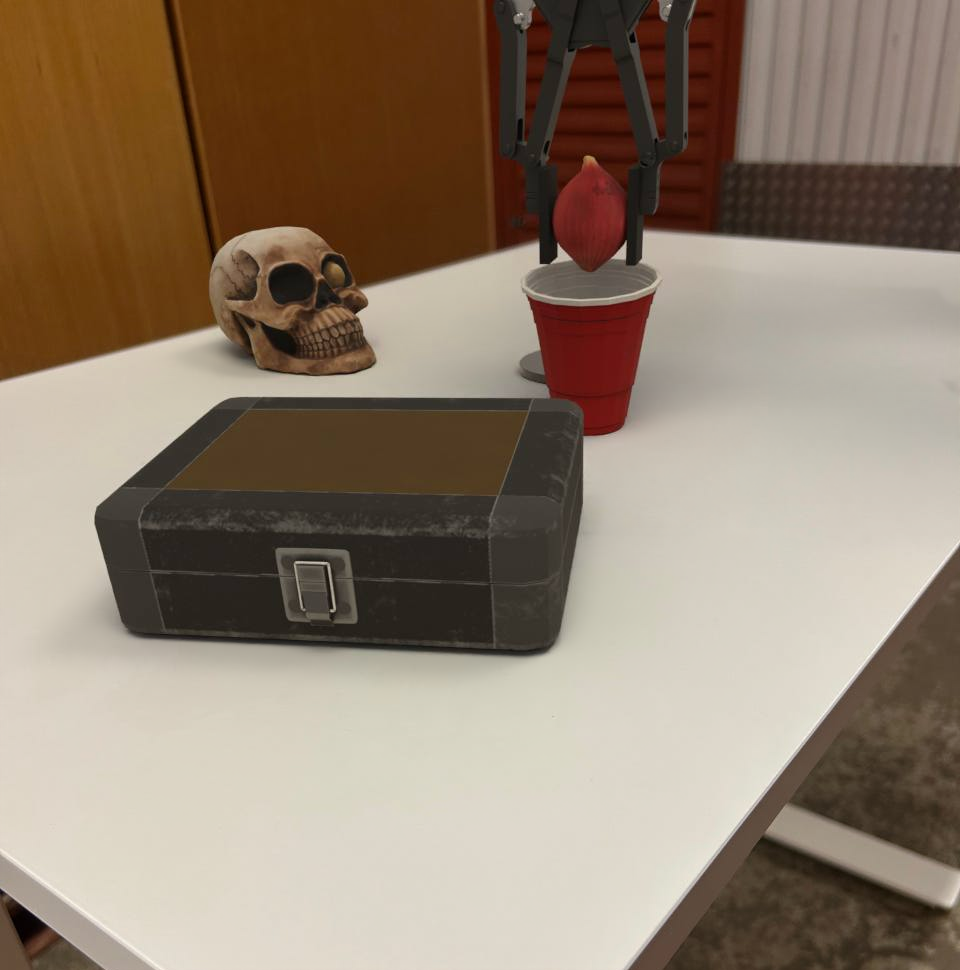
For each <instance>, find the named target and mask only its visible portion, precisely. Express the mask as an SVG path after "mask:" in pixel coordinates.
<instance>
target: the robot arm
mask: <svg viewBox="0 0 960 970" xmlns="http://www.w3.org/2000/svg"><path fill="white" fill-rule="evenodd" d="M653 1H654V0H494V2H493V6H492V10H493V14H494V18H495V22H496V25H497V29H498V32H499V36H500V73H499V74H500V76H499V82H500V83H499V88H500V89H499V131H498V132H499V134H498V135H499V136H498V152H499V155H500V156H501V157H502V158H503V159H509V160H512V161H515V162H517V163H519V164H520V165H522V167H523V170H524V175H525V176H524V177H525V178H524V182H525V208H526V212H527V214H528V216H538V245H539V246H538V249H539V250H538V251H539V253H538V254H539V259H538V260H539V265H548V264H552V263H554V261H555V260H556V259H557V258H559V254H558V253H559V249H558V248H559V247H558V246H559V244H558V242H557V240H556V238H555V236H554V234H553V227H552V215H553V209H554V206H555V203H556V200H557V198H558V196H559V194H558V193H559V192H558V164H547V162H548V161H549V160H550V156H549V152H550V149H551V144H552V142H553V141H552V140H553V137H554V133H555V130H556V126H557V122H558V118H559V114H560V110H561V106H562V103H563V98H564V94H565V90H566V87H567V83H568V79H569V75H570V72H571V67H572V64H574V63H573V62H574V60H575V58H576V55H577V52H578V51H577V50H580V49H586V48H588V47H591V46H594V47H597V48H598V47H599V48H601V49H602V48H610V51H611V54H612V59H613V61H614V63H615V65H616V69H617V73H618V77H619V82H620V86H621V90H622V95H623V98H624V102H625V106H626V110H627V114H628V115H627V116H628V119H629V123H630V127H631V131H632V135H633V140H634V144H635V148H636V151H637V156H638V160H637V163H634V164H632V166H630V167H629V168H628V175H627V197H628V205H627V239H626V242H625V259H626V266H636V265H637V264H638V263H639V262H641V261H642V259H643V244H644V243H643V242H644V220H645V219H644V216H653V215H655V213H656V211H657V210H658V206H659V202H660V181H661V179H660V178H661V167H662V164H663V162H664V161H666V160H669V159H671V158H673V157H677V156H679V155H680V154H682V153H683V152H684V151H685V150H686V149H687V147H688V144H689V28H690V25H691V21H692V19H693V17H694V16H693V15H694V13H695V8H696V6H697V4H698V3H697V2H698V0H656V1H657V3H658V5H659V10H658V11H659V13H658V14H659V18H660V19H661V20H662V21H663V22H665V23H666V24H665V25H666V26H665V34H664V35H665V36H664V49H665V50H664V79H665V81H664V83H665V84H664V87H665V89H664V90H665V94H664V95H665V96H664V97H665V100H664V104H665V105H664V107H665V109H664V110H665V139H662V140H660V139H659V138H660V137H659V133H658V130H657V124H656V120H655V117H654V112H653V108H652V103H651V99H650V95H649V90H648V87H647V82H646V77H645V73H644V69H643V66H642V61H641V55H640V54H641V53H640V46H639V42H638V37H637V33H636V27H637V26H638V25H639V23H640V21H642V18H643V17H644V15H645V14H646V12H647V10H648V9H649V7H650V5H651V4H652V2H653ZM535 7H536V8H537V10H538V11H539V13H540V15H541V16H542V18H543V19H544V21H545V23H546V25H547V26H548V27H549V29H550V30H551V32H552V33H551V36H550V40H549V45H548V48H547V52H546V64H545V67H544V71H543V76H542V79H541V83H540V88H539V92H538V95H537V100H536V104H535V109H534V112H533V116H532V120H531V124H530V129H529V133H528V137H527V141H525V126H526V125H525V123H526V89H527V88H526V87H527V61H528V60H527V59H528V58H527V57H528V56H527V55H528V37H527V29H528V28H529V27H530V26H531V24H532V19H533V17H532V16H533V15H532V14H533V10H534V8H535Z"/></svg>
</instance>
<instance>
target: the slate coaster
mask: <svg viewBox="0 0 960 970" xmlns="http://www.w3.org/2000/svg"><path fill="white" fill-rule="evenodd" d="M518 371H519V374H520V375H521V376H522V377H524V378H526V379H527V380H529V381H533V382H536V383H540V384H541V383H542V384H546V378H545V373H544V367H543V362H542V356H541V350H540V349H539V350H536V351H532V352H530V353H527V354H525V355H523V356H522V357H521V358H520V359H519V361H518Z"/></svg>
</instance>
